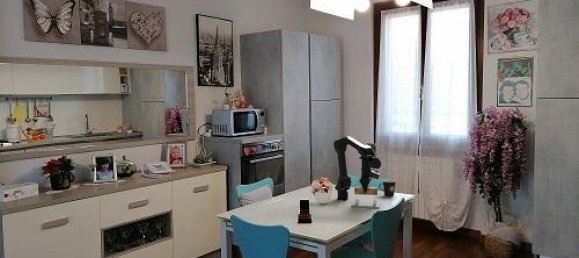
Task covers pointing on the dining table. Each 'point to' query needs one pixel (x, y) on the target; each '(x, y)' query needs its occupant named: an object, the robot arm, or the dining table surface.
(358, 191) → the shelf board
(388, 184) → the coffee mug
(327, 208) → the dining table surface
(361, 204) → the peg plate
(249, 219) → the dining table surface
